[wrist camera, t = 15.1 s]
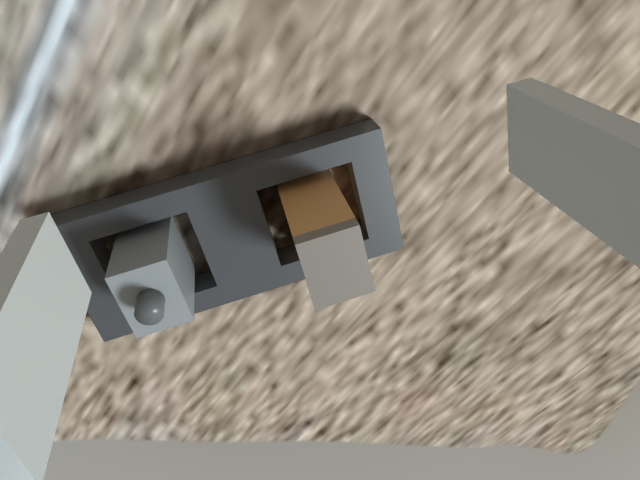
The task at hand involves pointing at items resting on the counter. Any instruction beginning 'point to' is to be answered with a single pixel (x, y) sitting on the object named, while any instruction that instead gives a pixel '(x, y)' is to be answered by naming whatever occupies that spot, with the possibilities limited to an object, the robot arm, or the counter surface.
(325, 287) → the plug
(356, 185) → the gray fixture base
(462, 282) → the counter surface
